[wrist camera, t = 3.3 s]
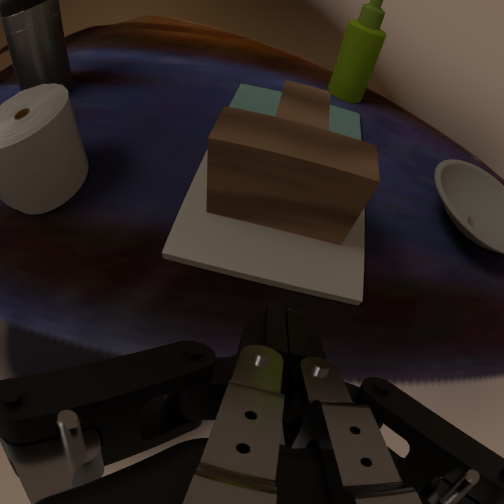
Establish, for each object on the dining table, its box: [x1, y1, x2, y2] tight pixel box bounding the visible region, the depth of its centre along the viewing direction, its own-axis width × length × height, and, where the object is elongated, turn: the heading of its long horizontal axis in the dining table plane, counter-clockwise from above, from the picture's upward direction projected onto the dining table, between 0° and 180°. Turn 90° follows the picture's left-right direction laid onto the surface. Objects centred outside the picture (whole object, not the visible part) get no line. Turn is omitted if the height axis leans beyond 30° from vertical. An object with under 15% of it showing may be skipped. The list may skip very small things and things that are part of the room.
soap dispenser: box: [328, 0, 386, 103], centre depth 39 cm, size 6×7×20 cm
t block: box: [206, 80, 380, 246], centre depth 29 cm, size 12×13×9 cm
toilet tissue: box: [0, 83, 89, 215], centre depth 27 cm, size 11×12×10 cm
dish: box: [435, 160, 504, 254], centre depth 34 cm, size 18×14×5 cm
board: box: [162, 84, 365, 305], centre depth 35 cm, size 30×18×1 cm, turn 168°
